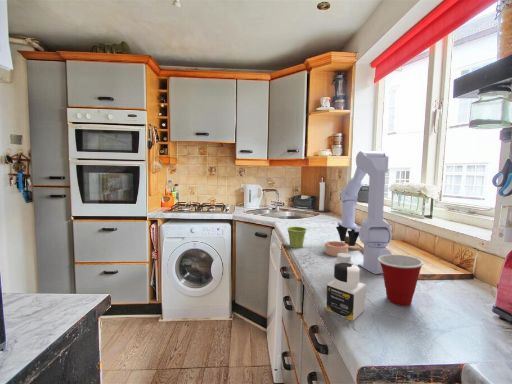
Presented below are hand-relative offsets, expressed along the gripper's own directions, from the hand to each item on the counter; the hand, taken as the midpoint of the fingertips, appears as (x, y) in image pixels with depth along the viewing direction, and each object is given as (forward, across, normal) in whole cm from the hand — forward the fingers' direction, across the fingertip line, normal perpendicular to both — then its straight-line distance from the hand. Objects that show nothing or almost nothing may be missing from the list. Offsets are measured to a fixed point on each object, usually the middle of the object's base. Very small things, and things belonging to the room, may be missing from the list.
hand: (347, 243), depth 117 cm
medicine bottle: (+2, -47, +32) cm, 57 cm away
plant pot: (+2, +8, +22) cm, 24 cm away
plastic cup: (+2, -46, +15) cm, 48 cm away
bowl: (+2, -7, +10) cm, 12 cm away
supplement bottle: (+2, -35, +25) cm, 43 cm away
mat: (+2, 0, 0) cm, 2 cm away
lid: (+2, 0, 0) cm, 2 cm away
